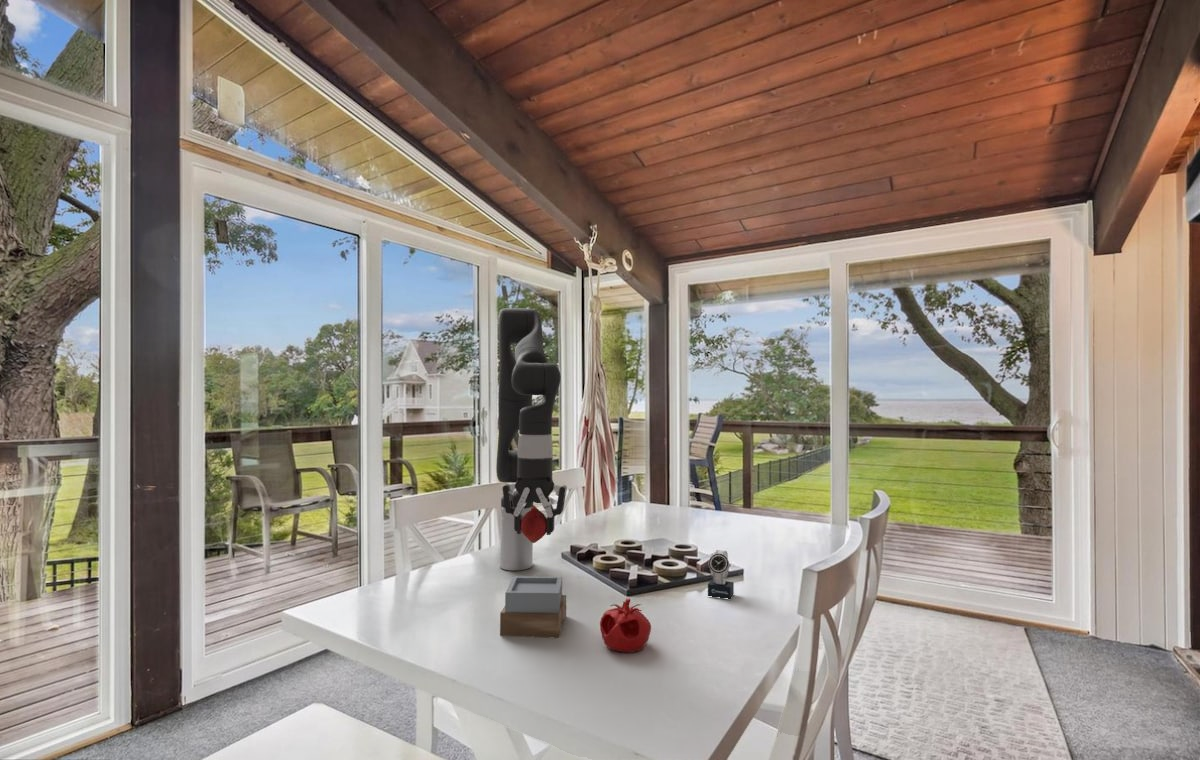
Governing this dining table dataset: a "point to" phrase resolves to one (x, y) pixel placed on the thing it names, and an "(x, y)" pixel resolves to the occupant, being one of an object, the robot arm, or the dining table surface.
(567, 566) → the dining table surface
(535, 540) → the onion
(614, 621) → the pomegranate
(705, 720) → the dining table surface
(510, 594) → the top block
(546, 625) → the bottom block
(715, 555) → the watch
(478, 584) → the dining table surface
